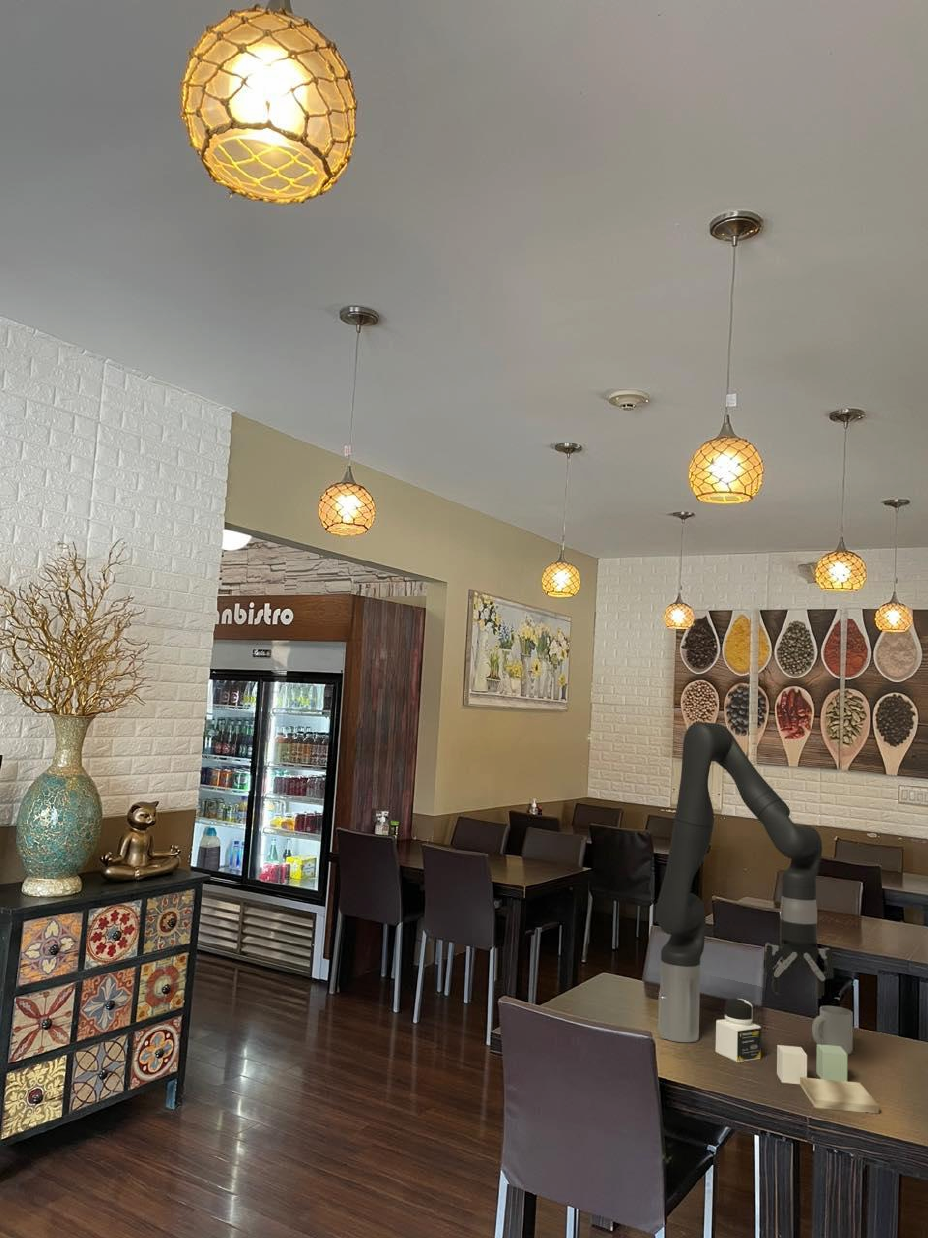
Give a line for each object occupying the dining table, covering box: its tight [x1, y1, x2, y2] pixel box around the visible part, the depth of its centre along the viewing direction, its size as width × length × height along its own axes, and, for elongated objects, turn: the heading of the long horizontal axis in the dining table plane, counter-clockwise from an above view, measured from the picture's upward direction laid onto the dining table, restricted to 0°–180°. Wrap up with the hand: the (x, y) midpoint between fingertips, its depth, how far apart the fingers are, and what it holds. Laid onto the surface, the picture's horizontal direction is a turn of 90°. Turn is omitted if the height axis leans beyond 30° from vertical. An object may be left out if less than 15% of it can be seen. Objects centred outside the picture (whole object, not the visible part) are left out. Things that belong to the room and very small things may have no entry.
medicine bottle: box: [715, 998, 762, 1063], centre depth 211 cm, size 7×7×12 cm
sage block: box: [815, 1043, 848, 1082], centre depth 200 cm, size 5×5×6 cm
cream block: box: [776, 1044, 808, 1085], centre depth 198 cm, size 5×5×6 cm
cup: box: [811, 1005, 854, 1056], centre depth 218 cm, size 7×10×9 cm
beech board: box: [799, 1077, 880, 1114], centre depth 188 cm, size 12×12×2 cm
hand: (798, 996), depth 200 cm, fingers open, 8 cm apart
